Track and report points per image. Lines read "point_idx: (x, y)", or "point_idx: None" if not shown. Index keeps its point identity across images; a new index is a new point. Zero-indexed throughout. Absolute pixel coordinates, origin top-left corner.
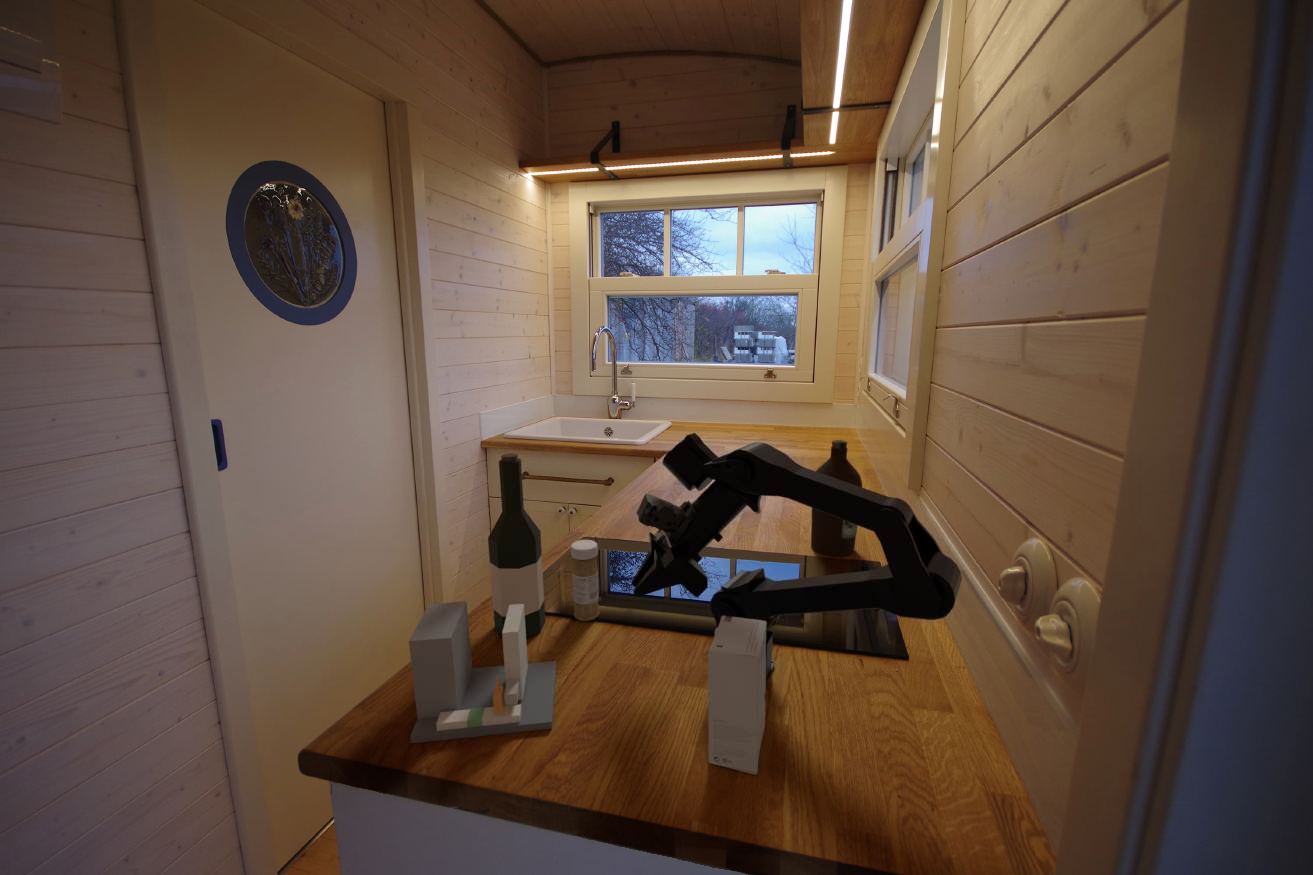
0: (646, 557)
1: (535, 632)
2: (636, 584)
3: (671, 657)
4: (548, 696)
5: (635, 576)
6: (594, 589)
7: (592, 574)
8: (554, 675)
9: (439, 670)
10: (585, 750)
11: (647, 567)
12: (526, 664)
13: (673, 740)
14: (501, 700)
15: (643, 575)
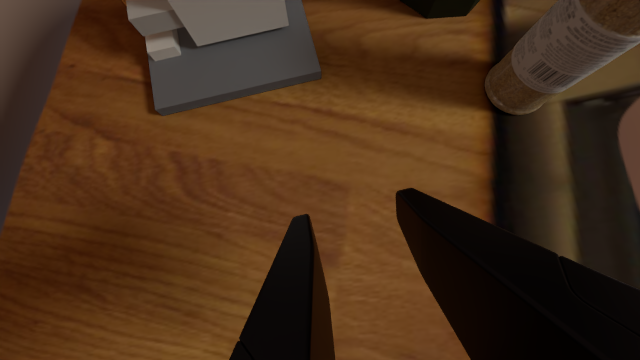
0: (611, 309)
1: (419, 8)
2: (401, 219)
3: (383, 311)
4: (217, 86)
5: (428, 207)
6: (559, 66)
7: (605, 25)
8: (276, 80)
9: None
10: (114, 180)
11: (490, 307)
12: (269, 17)
13: (130, 336)
14: (125, 4)
15: (439, 264)
